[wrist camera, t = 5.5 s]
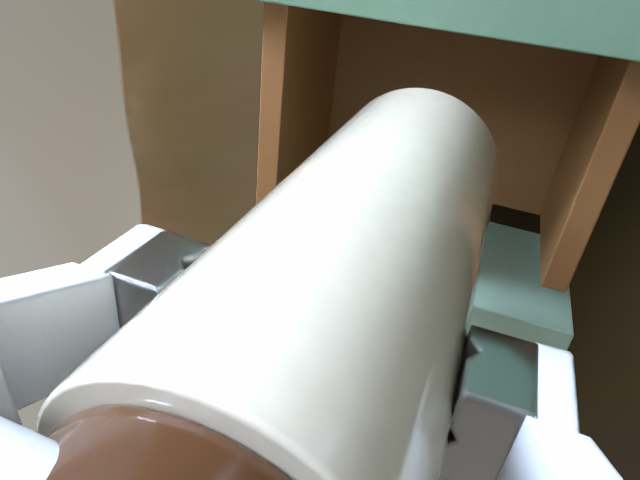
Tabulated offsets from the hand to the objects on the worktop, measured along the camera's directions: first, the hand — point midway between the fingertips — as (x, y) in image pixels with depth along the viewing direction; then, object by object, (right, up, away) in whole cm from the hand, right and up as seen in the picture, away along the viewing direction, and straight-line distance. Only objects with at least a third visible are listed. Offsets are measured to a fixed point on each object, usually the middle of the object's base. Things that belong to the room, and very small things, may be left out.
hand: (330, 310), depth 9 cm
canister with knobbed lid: (+3, +3, +6) cm, 7 cm away
